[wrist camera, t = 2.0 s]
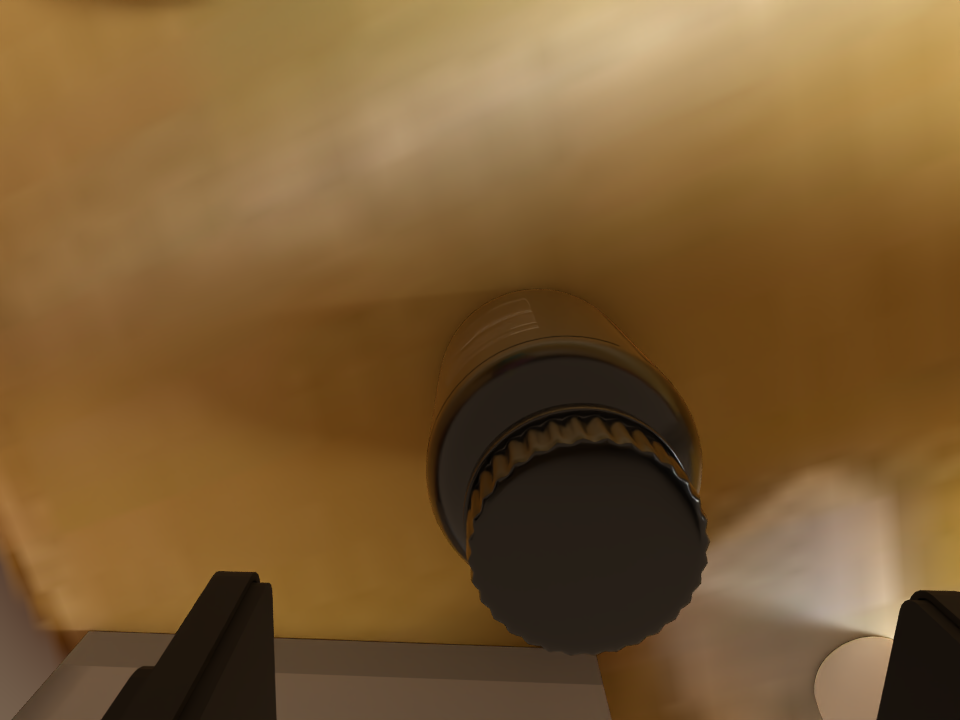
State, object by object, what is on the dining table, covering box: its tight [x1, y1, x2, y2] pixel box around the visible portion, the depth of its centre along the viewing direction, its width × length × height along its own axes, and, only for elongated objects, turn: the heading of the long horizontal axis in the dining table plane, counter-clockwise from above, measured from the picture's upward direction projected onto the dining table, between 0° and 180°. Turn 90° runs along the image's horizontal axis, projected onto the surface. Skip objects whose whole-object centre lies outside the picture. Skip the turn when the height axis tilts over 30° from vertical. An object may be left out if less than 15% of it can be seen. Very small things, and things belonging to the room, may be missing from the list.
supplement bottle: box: [426, 289, 710, 656], centre depth 19 cm, size 7×7×12 cm
